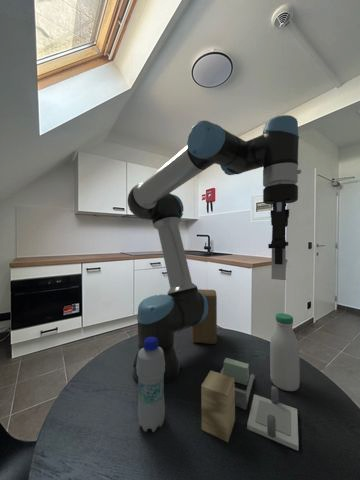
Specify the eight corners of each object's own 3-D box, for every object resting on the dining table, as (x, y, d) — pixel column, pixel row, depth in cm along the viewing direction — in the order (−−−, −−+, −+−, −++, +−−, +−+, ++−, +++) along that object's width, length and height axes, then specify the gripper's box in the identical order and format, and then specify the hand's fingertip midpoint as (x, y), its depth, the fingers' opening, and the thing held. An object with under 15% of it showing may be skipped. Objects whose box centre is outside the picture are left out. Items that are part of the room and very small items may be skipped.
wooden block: (193, 332, 93) (193, 288, 92) (215, 333, 91) (215, 289, 91) (192, 343, 83) (191, 294, 82) (216, 345, 81) (216, 295, 81)
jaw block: (201, 429, 46) (201, 385, 45) (210, 409, 51) (210, 370, 51) (228, 442, 43) (227, 395, 43) (234, 419, 48) (234, 378, 48)
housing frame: (209, 396, 55) (209, 381, 55) (223, 368, 67) (223, 356, 66) (246, 410, 51) (245, 394, 50) (254, 378, 62) (254, 365, 62)
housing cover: (223, 377, 62) (223, 361, 62) (226, 372, 65) (226, 356, 65) (247, 385, 59) (247, 368, 59) (249, 379, 61) (249, 363, 61)
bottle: (170, 416, 49) (170, 334, 49) (156, 441, 43) (155, 348, 43) (147, 406, 52) (146, 329, 52) (130, 429, 46) (129, 341, 46)
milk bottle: (304, 394, 55) (303, 321, 55) (273, 390, 57) (273, 319, 57) (294, 375, 63) (293, 311, 63) (267, 372, 65) (267, 310, 64)
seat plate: (246, 431, 45) (246, 411, 45) (254, 396, 55) (254, 379, 55) (298, 453, 40) (298, 431, 40) (297, 411, 50) (297, 393, 50)
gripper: (301, 168, 36) (300, 287, 36) (295, 194, 58) (295, 267, 58) (257, 174, 39) (256, 282, 40) (267, 196, 61) (266, 266, 62)
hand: (279, 274), depth 49 cm, fingers open, 13 cm apart
